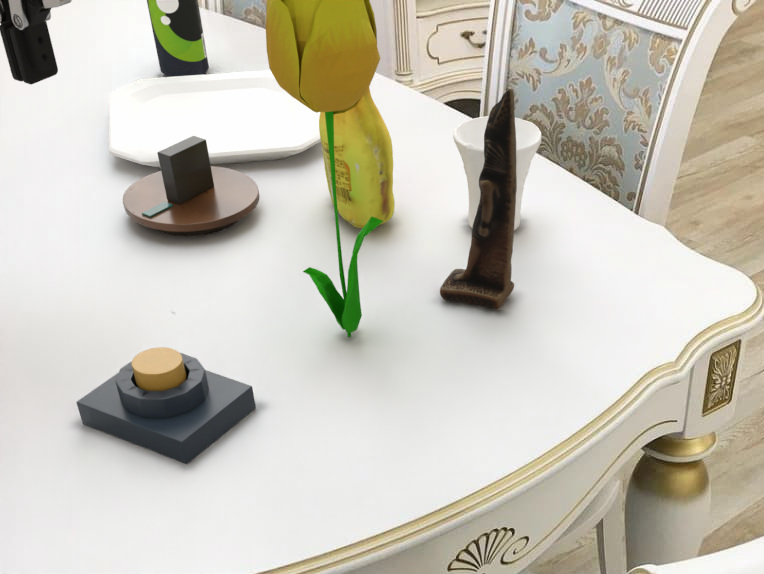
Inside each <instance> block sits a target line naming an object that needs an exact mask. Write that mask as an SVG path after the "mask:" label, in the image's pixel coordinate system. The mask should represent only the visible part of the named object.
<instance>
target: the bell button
mask: <svg viewBox="0 0 764 574" xmlns="http://www.w3.org/2000/svg"><path fill="white" fill-rule="evenodd" d="M180 353H181V352H179V351H178V350H176V349H174V348H171V347H161V346H159V347H152V348H148V349H145V350H142V351H141V352H139V353H137V354H136V355H135V356H134V357H133V358H132V360H131V361H132V364H131V365H132V369H133V372H134V376H135V380H136V384H137V386H138V387H139V388H140V389H143V390H146V391H165V390H168V389H172V388H175V387H178V386H179V385H181V384H182V383H183V382H185V380H186V371H185V367H184V363H183V358H182V355H181V354H180Z"/></svg>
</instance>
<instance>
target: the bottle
mask: <svg viewBox="0 0 764 574" xmlns="http://www.w3.org/2000/svg"><path fill="white" fill-rule="evenodd" d="M319 131H320V139H321V142H320V144H321V151H322V157H323V163H324V171H325V172H324V173H325V177H326V183H327V189H328V192H329V196H330V200H331V203H332V205H333V206H334V200H333V189H332V178H331V167H330V157H329V148H328V138H327V128H326V119H325V112H320V117H319ZM393 152H394V149H393V142H392V137H391V135H390V132H389V129H388V126H387V124H386V122H385V120H384V119H383V116H382V114H381V113H380V110H379V108H378V107H377V105H376V104H375V102H374V99H373V97H372V94H371V89H370V87H369V88H368V90H367V91H366V93H365V95H364V96H363V97H361V99H360V100H359V102H358V103H357V105H356V107H354V108H352V109H350V110H348V111H346V112H345V113H340V114H334V158H335V177H336V196H337V210H338V214H339V215H340V216H341V217H342V219H343V220H345V222H348V223H349V224H350V225H351V226H353V227H355V228H357V229H358V228H359V229H361V230H362V229H363V227H364V226H365V225H366V224H367V222H368V221H369V219H370V218H371V217H374V218H377V219H380V220H382V221H383V222H382V223H381V224H380V225H378V226H377V227H379V226H381V225H384V224H385V223H387V222H389V221H390V220H391V219H392V218H393V216H394V213H395V195H394V190H393V188H394V187H393V185H394V154H393Z"/></svg>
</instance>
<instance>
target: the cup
mask: <svg viewBox="0 0 764 574" xmlns="http://www.w3.org/2000/svg"><path fill="white" fill-rule="evenodd" d="M488 118H489V115H486V116H479V117H474V118H471V119H467V120H465V121H463V122H461V123H459V124H458V126H456V127H455V128H454V130H453V132H452V138H453V141H454V144H455V147H456V148H457V151H458V153H459V155H460V157H461V161H462V163H463V169H464V173H465V176H466V181H467V189H468V190H467V191H468V217H467V218H468V219H467V222H468V226H470V229H472V227H473V223H474V219H475V216H476V213H477V209H478V205H479V201H480V188H479V177H480V174H481V171H482V169H483V166H484V160H485V158H484V133H485V129H486V126H487V121H488ZM515 130H516V177H517V190H516V206H515V221H514V231H516V230H517V229H518V228H519V226H520V224H521V209H522V199H523V193H524V188H525V183H526V179H527V177H528V174H529V171H530V167H531V164H532V161H533V158H534V157H535V155H536V153H537V151H538V149H539V148H540V145H541V143H542V132H541V130H540V128H539V127H538V126H537V125H536V124H535V123H533V122H532V121H530V120H529V121H528V120H525V119H522V118H519V117H515Z"/></svg>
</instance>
